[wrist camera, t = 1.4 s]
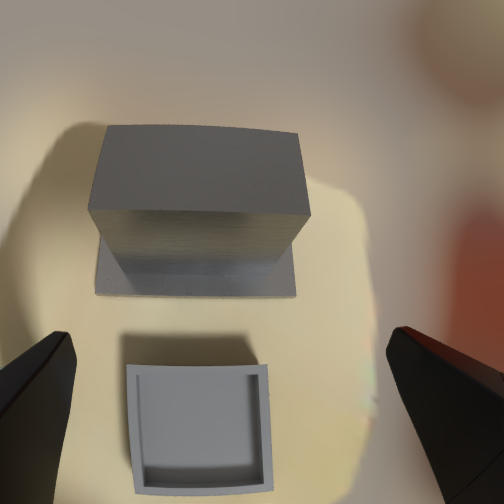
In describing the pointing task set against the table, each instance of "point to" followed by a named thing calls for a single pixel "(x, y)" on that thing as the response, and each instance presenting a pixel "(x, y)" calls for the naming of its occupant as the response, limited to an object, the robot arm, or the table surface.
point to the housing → (198, 212)
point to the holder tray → (199, 430)
